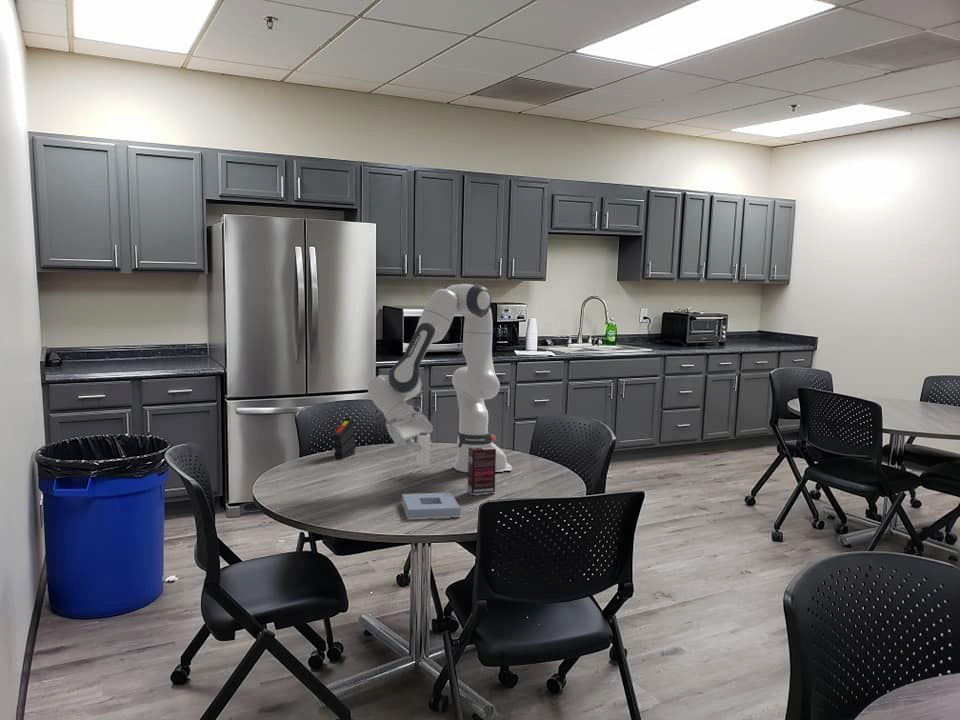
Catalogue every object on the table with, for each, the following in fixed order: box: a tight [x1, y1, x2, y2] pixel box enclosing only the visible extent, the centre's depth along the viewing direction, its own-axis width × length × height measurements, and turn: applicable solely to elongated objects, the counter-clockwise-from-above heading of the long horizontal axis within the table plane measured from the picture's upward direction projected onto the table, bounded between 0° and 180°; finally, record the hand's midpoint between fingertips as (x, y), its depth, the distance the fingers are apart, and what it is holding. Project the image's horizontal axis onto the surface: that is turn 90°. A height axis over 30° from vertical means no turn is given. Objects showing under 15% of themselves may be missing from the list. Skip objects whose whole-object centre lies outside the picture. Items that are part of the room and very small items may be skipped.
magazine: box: [331, 418, 357, 460], centre depth 288 cm, size 4×13×15 cm, turn 161°
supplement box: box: [467, 446, 496, 496], centre depth 245 cm, size 9×5×16 cm, turn 110°
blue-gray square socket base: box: [401, 492, 462, 520], centre depth 226 cm, size 16×16×3 cm
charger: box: [416, 432, 431, 467], centre depth 244 cm, size 4×4×11 cm
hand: (425, 448), depth 243 cm, fingers closed on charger, 6 cm apart
